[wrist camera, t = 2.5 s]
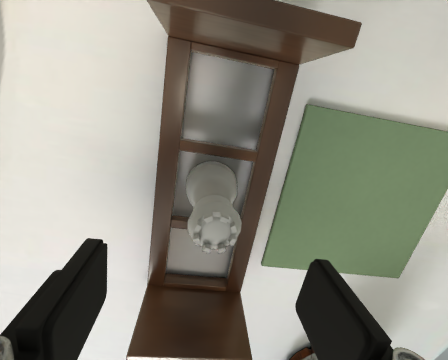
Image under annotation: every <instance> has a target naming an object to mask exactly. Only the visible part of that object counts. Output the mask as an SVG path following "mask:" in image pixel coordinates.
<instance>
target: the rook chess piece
mask: <svg viewBox="0 0 448 360" xmlns="http://www.w3.org/2000/svg"><path fill="white" fill-rule="evenodd" d="M237 187H238V186H237V181H236V177H235V174H234V173H233V171H232V170H231V169H230V168H229V167H228V166H226V165H224V164H222V163H220V162H214V161H207V162H204V163H201V164H198V165H197V166H196V167H195V168H193V169H192V170H191V171H190V173H189V175H188V177H187V179H186V195H187V197H188V199H189V202H190V203H191V204H192V205H193V206H194V208H193V212H192V214H191V216H190V218H189V220H188V232H189V235H190V237H191V239H192V240H193V241H194V242H195V244H196V246H197V245H199V246H202V251H203V252H206V253H209V254H210V252H211V249H218V254H220V253H223V252H226V246H228V245H231V246H233V245H234V244H235V242H236V240H237V237H238V235H239V233H240V232H241V224H242V222H241V219H240V216H239V214H238V212H237V211H236V210H235V209H234V207H233V204H232V203H233V201H234V200H235V198H236V196H237Z"/></svg>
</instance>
